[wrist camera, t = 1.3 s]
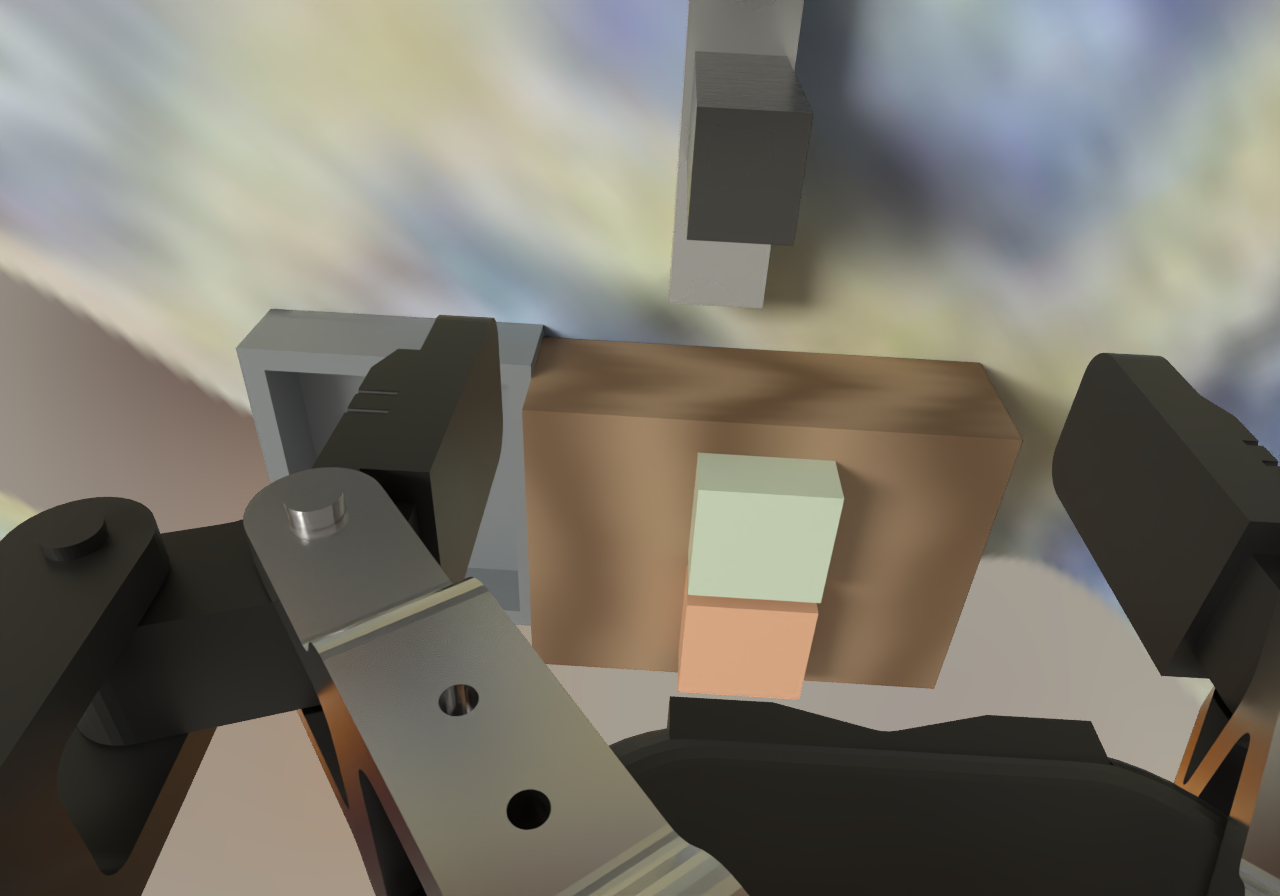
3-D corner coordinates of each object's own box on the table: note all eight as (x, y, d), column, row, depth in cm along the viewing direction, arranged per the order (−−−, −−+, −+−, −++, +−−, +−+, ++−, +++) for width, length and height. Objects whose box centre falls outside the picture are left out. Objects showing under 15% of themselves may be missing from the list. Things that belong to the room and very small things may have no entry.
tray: (542, 324, 32) (530, 365, 29) (549, 576, 39) (539, 626, 36) (271, 309, 32) (236, 348, 29) (326, 562, 39) (302, 611, 37)
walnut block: (979, 362, 32) (1022, 440, 28) (908, 598, 39) (933, 688, 35) (543, 337, 32) (522, 409, 28) (549, 576, 39) (532, 663, 35)
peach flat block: (811, 573, 31) (818, 613, 30) (793, 658, 34) (799, 699, 32) (687, 565, 31) (687, 605, 30) (678, 650, 34) (677, 691, 32)
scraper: (809, -146, 23) (864, -140, 16) (756, 270, 30) (778, 408, 23) (698, -152, 23) (702, -148, 16) (670, 265, 30) (664, 401, 23)
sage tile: (835, 460, 28) (844, 498, 27) (813, 563, 31) (820, 603, 29) (697, 452, 29) (698, 490, 27) (688, 555, 31) (687, 594, 29)
